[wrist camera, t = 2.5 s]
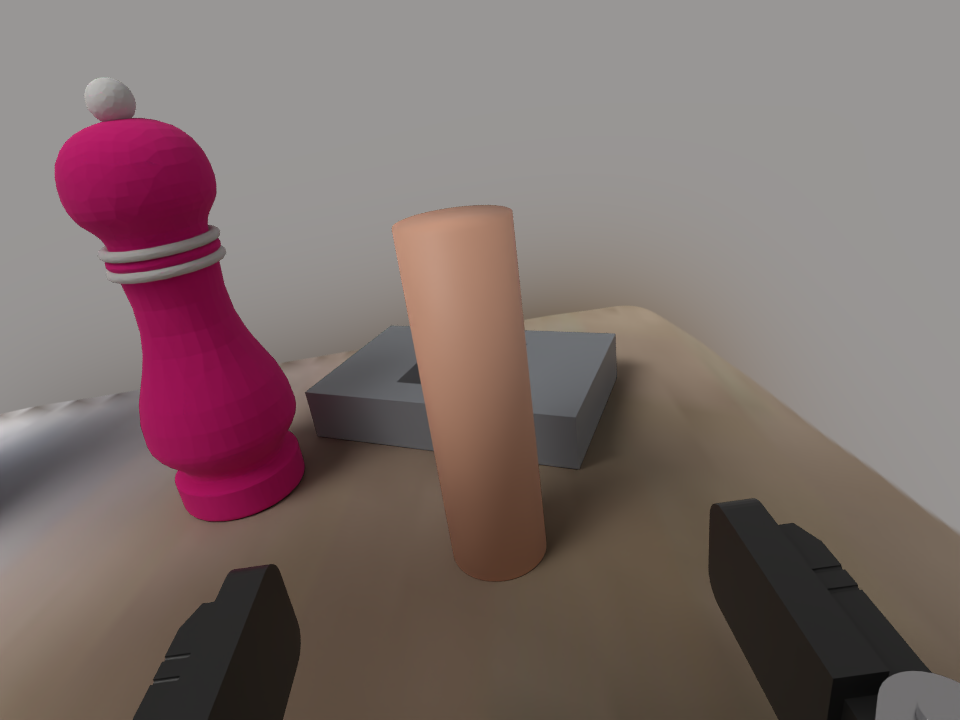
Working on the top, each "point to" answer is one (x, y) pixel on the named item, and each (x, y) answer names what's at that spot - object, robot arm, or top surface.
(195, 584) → the top surface
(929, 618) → the top surface
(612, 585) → the top surface
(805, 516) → the top surface
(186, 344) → the pepper mill
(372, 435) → the socket block
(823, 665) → the robot arm
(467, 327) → the dowel
